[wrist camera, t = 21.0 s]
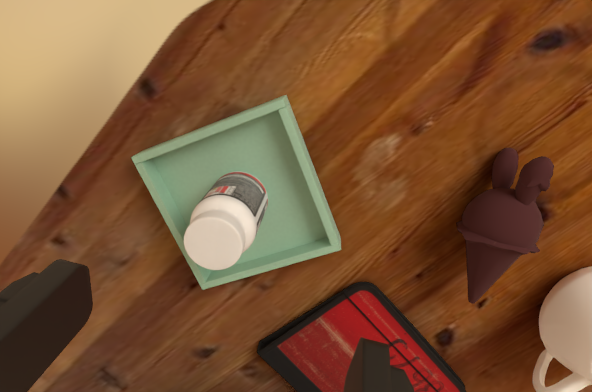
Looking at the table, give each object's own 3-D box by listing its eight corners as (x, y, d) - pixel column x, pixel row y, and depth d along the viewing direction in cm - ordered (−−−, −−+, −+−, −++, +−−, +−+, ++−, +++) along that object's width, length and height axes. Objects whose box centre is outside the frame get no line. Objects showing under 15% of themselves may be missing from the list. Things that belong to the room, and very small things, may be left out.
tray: (143, 150, 38) (130, 157, 36) (286, 94, 35) (282, 98, 33) (209, 276, 43) (202, 290, 41) (340, 237, 40) (341, 250, 37)
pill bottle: (205, 177, 38) (165, 218, 29) (259, 163, 37) (234, 202, 28) (224, 227, 40) (192, 281, 31) (276, 216, 39) (258, 268, 30)
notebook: (366, 460, 48) (254, 355, 44) (364, 442, 50) (257, 341, 46) (477, 402, 44) (366, 279, 40) (469, 386, 46) (364, 268, 42)
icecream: (530, 327, 34) (599, 167, 30) (459, 324, 33) (520, 154, 28) (481, 286, 41) (532, 149, 36) (420, 281, 39) (465, 137, 35)
